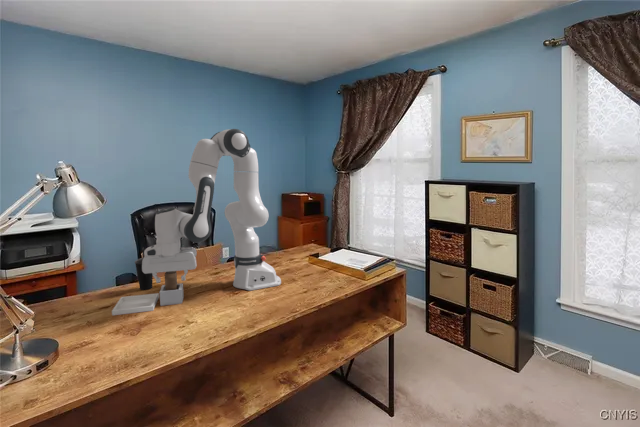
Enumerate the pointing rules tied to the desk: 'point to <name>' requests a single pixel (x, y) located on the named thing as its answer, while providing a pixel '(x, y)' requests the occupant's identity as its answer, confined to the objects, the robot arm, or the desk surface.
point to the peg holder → (171, 295)
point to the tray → (135, 304)
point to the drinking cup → (143, 275)
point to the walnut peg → (171, 280)
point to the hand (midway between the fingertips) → (171, 281)
